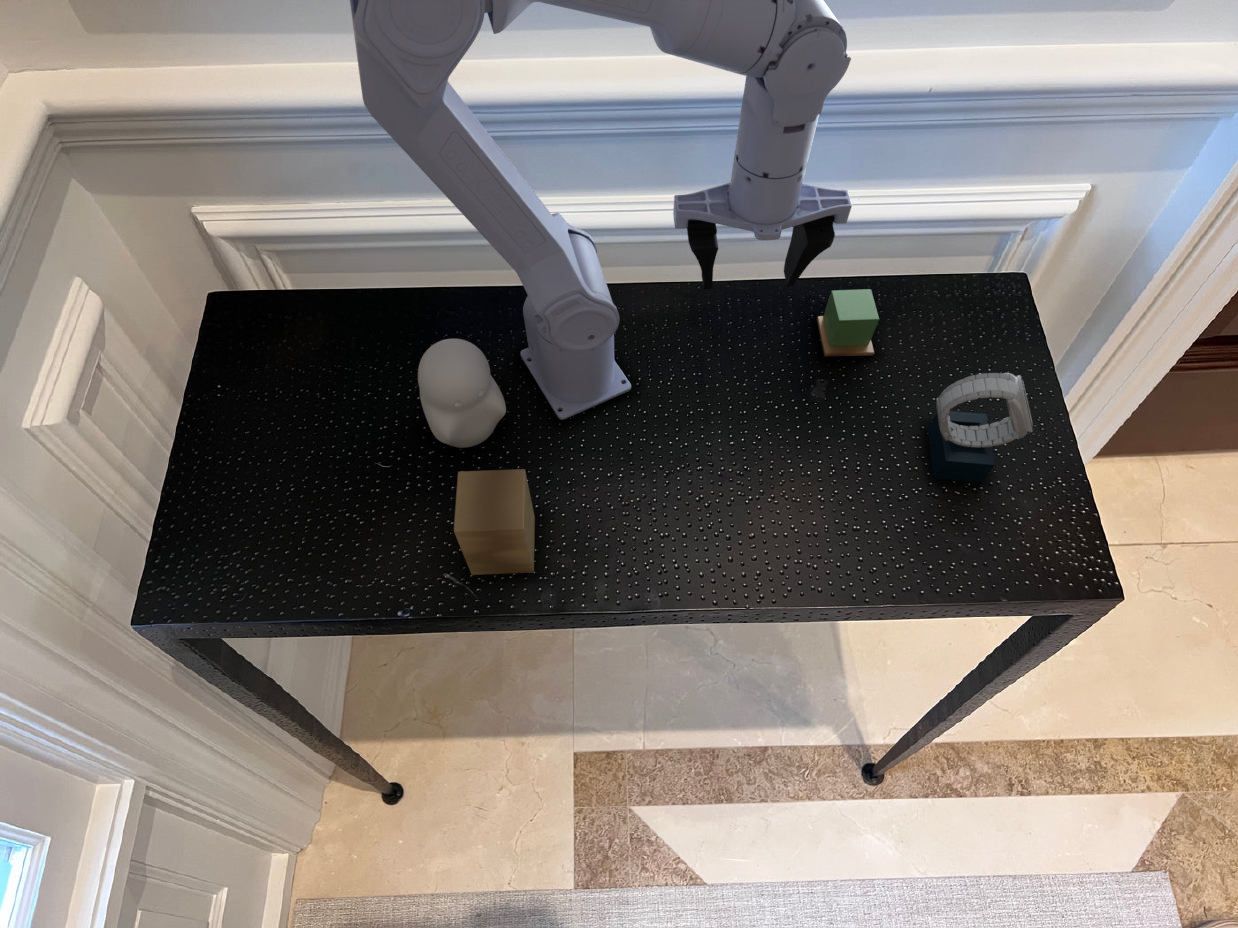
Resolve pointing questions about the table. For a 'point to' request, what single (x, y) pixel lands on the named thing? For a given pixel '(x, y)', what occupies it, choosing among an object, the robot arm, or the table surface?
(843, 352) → the coaster
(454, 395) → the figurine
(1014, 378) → the watch
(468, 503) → the wooden block
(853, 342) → the green block
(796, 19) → the robot arm
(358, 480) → the table surface
